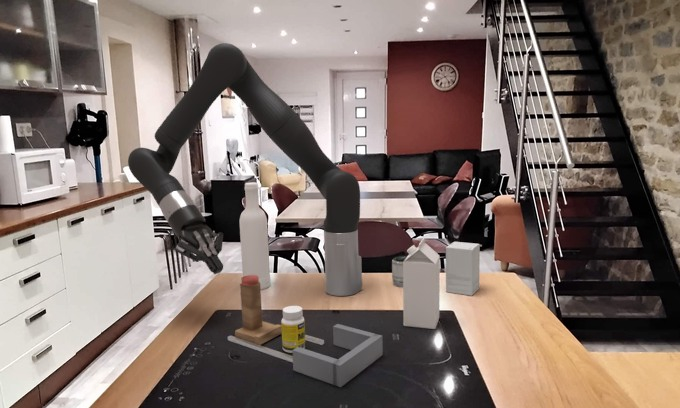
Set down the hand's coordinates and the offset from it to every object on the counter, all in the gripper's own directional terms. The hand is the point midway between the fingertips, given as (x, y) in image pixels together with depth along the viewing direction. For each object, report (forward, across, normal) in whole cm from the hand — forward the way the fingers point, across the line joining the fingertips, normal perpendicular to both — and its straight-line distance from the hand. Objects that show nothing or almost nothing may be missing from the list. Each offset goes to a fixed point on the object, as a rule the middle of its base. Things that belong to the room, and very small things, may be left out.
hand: (219, 271), depth 108 cm
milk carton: (+36, +26, -18) cm, 48 cm away
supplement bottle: (+25, 0, -6) cm, 25 cm away
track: (+21, 0, -3) cm, 21 cm away
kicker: (+17, 0, +1) cm, 17 cm away
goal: (+32, 0, -14) cm, 35 cm away
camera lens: (+24, +48, -6) cm, 54 cm away
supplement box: (+36, +52, -18) cm, 65 cm away
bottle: (0, +24, +19) cm, 31 cm away
